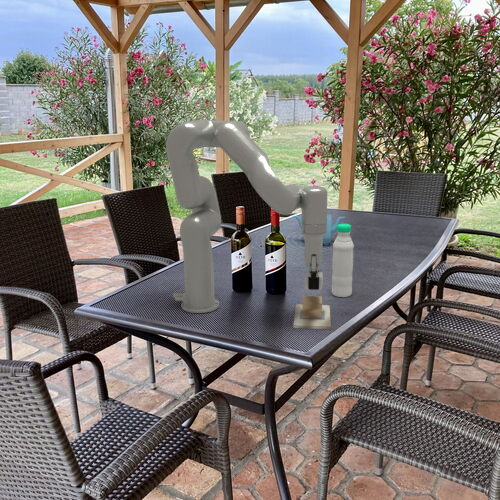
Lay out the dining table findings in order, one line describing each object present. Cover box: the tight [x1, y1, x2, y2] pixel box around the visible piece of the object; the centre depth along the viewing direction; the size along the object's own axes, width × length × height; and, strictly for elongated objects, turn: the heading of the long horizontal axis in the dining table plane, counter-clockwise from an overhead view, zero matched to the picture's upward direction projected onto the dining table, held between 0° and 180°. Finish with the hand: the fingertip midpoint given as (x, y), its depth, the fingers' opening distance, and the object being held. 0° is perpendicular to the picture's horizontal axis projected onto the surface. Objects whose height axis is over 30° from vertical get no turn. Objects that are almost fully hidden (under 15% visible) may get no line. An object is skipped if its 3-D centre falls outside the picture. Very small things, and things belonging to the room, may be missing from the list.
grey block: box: [304, 271, 324, 291], centre depth 159 cm, size 5×5×4 cm
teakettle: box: [292, 214, 346, 247], centre depth 250 cm, size 19×19×15 cm
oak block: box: [302, 295, 323, 319], centre depth 162 cm, size 6×6×5 cm
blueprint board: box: [293, 303, 332, 331], centre depth 162 cm, size 11×17×1 cm, turn 173°
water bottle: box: [331, 223, 355, 298], centre depth 179 cm, size 7×7×25 cm
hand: (313, 285), depth 160 cm, fingers closed on grey block, 5 cm apart
